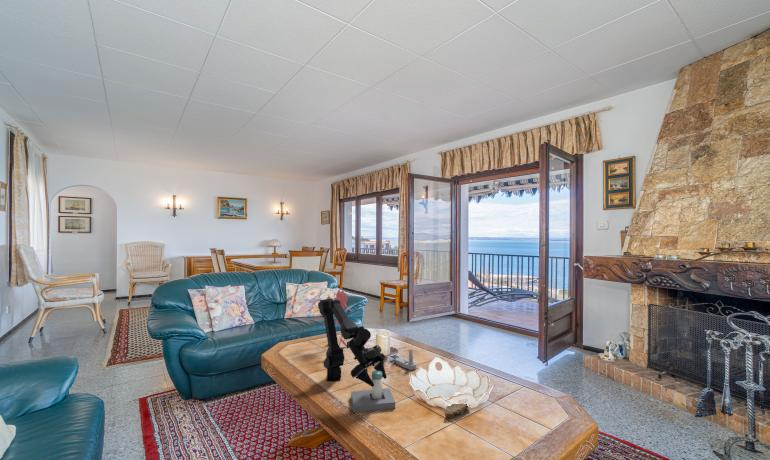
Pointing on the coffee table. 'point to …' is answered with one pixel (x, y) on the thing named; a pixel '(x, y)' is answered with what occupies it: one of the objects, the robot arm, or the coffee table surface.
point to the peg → (377, 385)
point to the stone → (455, 410)
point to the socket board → (372, 401)
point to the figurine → (343, 300)
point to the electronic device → (406, 362)
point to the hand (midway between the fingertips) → (379, 382)
